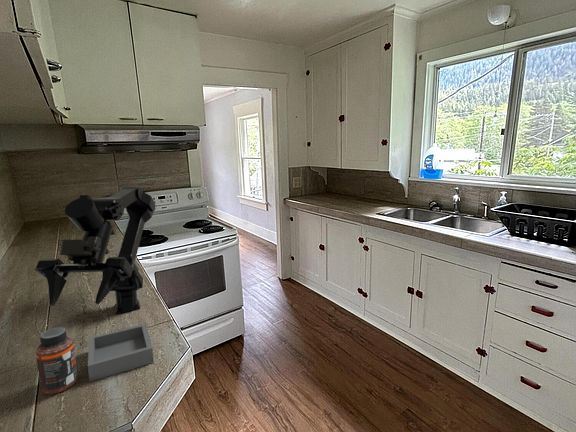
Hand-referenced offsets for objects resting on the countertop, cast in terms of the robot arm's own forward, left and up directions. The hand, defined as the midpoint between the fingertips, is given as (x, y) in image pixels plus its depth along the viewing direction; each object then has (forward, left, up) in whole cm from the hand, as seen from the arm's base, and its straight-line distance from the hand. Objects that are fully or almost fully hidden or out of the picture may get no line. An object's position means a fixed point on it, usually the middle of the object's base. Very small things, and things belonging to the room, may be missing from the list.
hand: (74, 304), depth 67 cm
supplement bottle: (+7, -3, -14) cm, 16 cm away
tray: (+3, +8, -13) cm, 16 cm away
